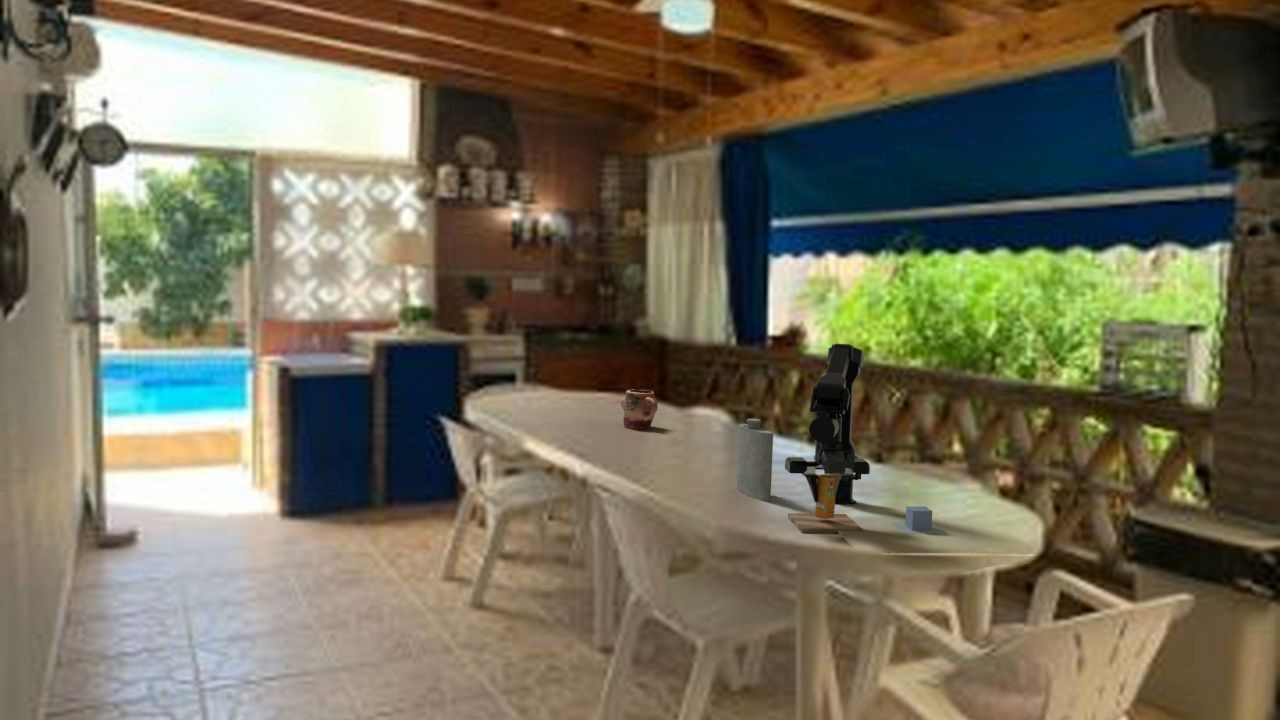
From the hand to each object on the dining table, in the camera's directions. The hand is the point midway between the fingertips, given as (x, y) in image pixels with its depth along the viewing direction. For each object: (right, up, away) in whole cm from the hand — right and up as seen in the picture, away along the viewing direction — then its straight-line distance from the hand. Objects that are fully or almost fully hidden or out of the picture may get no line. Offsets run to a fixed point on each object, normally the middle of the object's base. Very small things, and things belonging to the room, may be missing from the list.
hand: (825, 502), depth 234 cm
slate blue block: (+21, -6, -2) cm, 22 cm away
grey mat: (+21, -6, -2) cm, 22 cm away
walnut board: (0, -5, 0) cm, 5 cm away
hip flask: (-14, -3, +31) cm, 34 cm away
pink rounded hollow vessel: (-43, +8, +137) cm, 144 cm away
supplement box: (0, -4, 0) cm, 4 cm away
